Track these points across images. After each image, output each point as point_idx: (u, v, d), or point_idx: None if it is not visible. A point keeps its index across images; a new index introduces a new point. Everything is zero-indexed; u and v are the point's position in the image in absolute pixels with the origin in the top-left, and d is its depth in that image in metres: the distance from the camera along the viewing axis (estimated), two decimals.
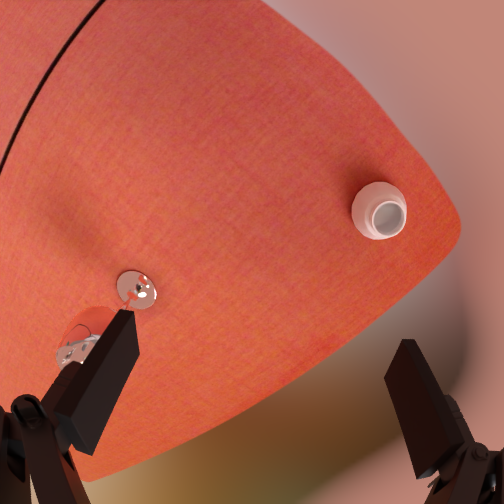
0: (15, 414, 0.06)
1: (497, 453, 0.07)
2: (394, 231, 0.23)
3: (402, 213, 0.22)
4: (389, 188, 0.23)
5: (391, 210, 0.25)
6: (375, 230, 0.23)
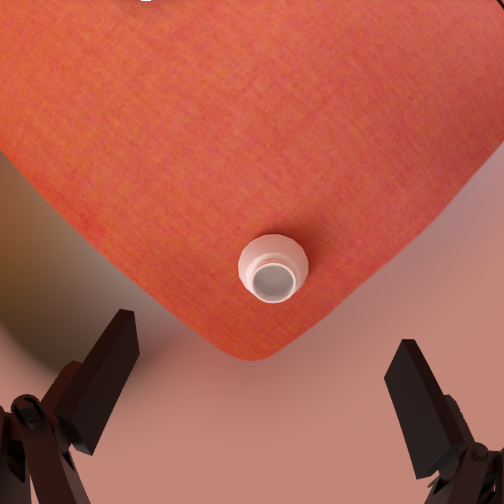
0: (15, 414, 0.06)
1: (497, 453, 0.07)
2: (256, 290, 0.21)
3: (279, 297, 0.21)
4: (304, 278, 0.22)
5: (272, 280, 0.23)
6: (258, 268, 0.20)
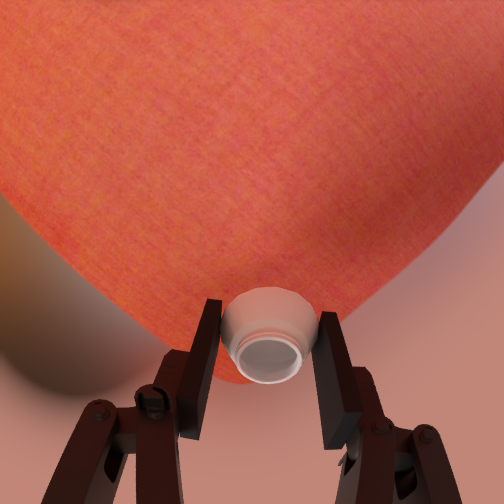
0: (137, 401, 0.09)
1: (407, 436, 0.09)
2: (245, 368, 0.14)
3: (277, 376, 0.14)
4: (312, 346, 0.15)
5: (268, 344, 0.16)
6: (247, 343, 0.13)
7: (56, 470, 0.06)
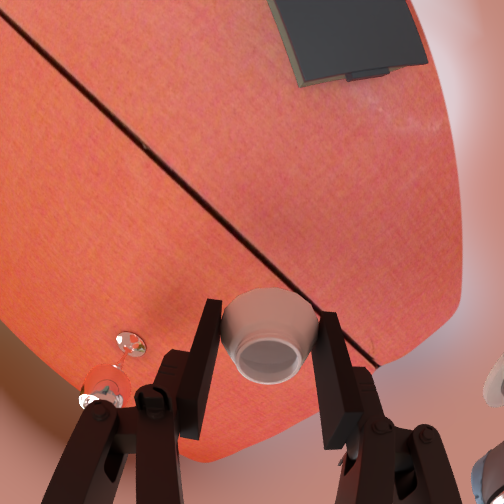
0: (137, 401, 0.09)
1: (407, 436, 0.09)
2: (245, 369, 0.14)
3: (277, 377, 0.14)
4: (312, 347, 0.15)
5: (268, 344, 0.16)
6: (246, 344, 0.13)
7: (56, 470, 0.06)
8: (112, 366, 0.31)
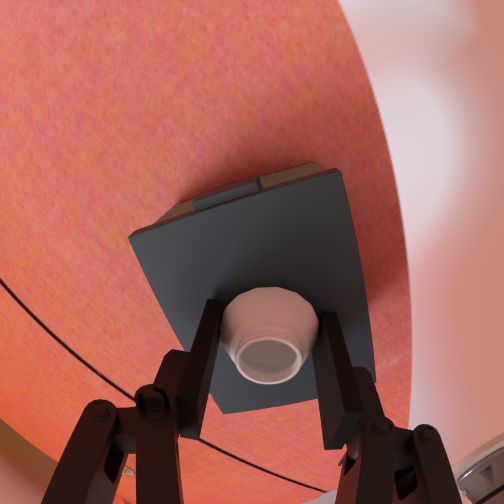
0: (137, 401, 0.09)
1: (408, 436, 0.09)
2: (245, 368, 0.14)
3: (277, 377, 0.14)
4: (312, 347, 0.15)
5: (268, 344, 0.16)
6: (246, 343, 0.13)
7: (56, 470, 0.06)
8: None
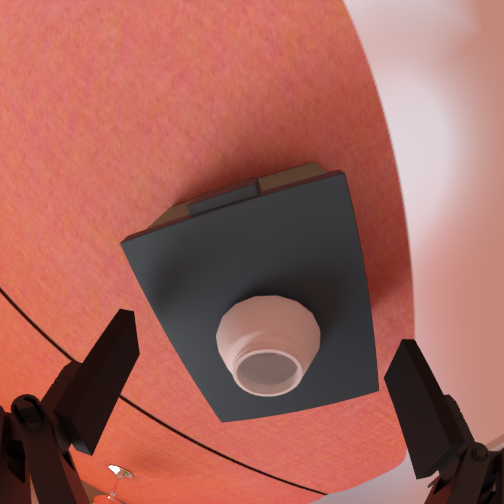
0: (15, 414, 0.06)
1: (497, 453, 0.07)
2: (243, 380, 0.13)
3: (277, 388, 0.13)
4: (313, 357, 0.14)
5: (267, 354, 0.16)
6: (244, 356, 0.12)
7: None
8: (108, 500, 0.31)
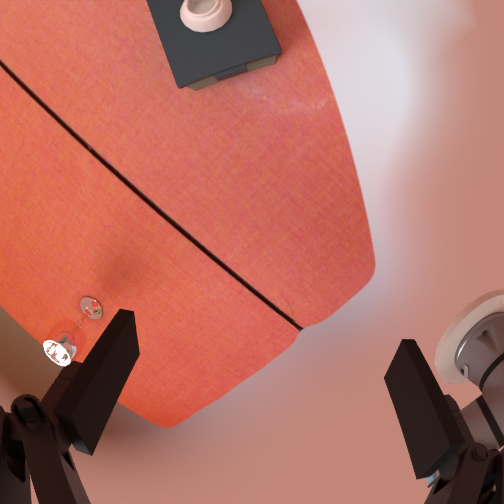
0: (15, 414, 0.06)
1: (497, 453, 0.07)
2: (190, 11, 0.21)
3: None
4: (227, 7, 0.22)
5: None
6: None
7: None
8: (70, 320, 0.39)
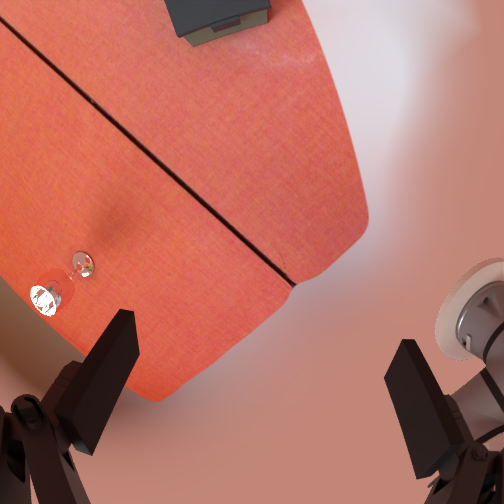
0: (15, 414, 0.06)
1: (497, 453, 0.07)
2: None
3: None
4: None
5: None
6: None
7: None
8: (60, 269, 0.38)
